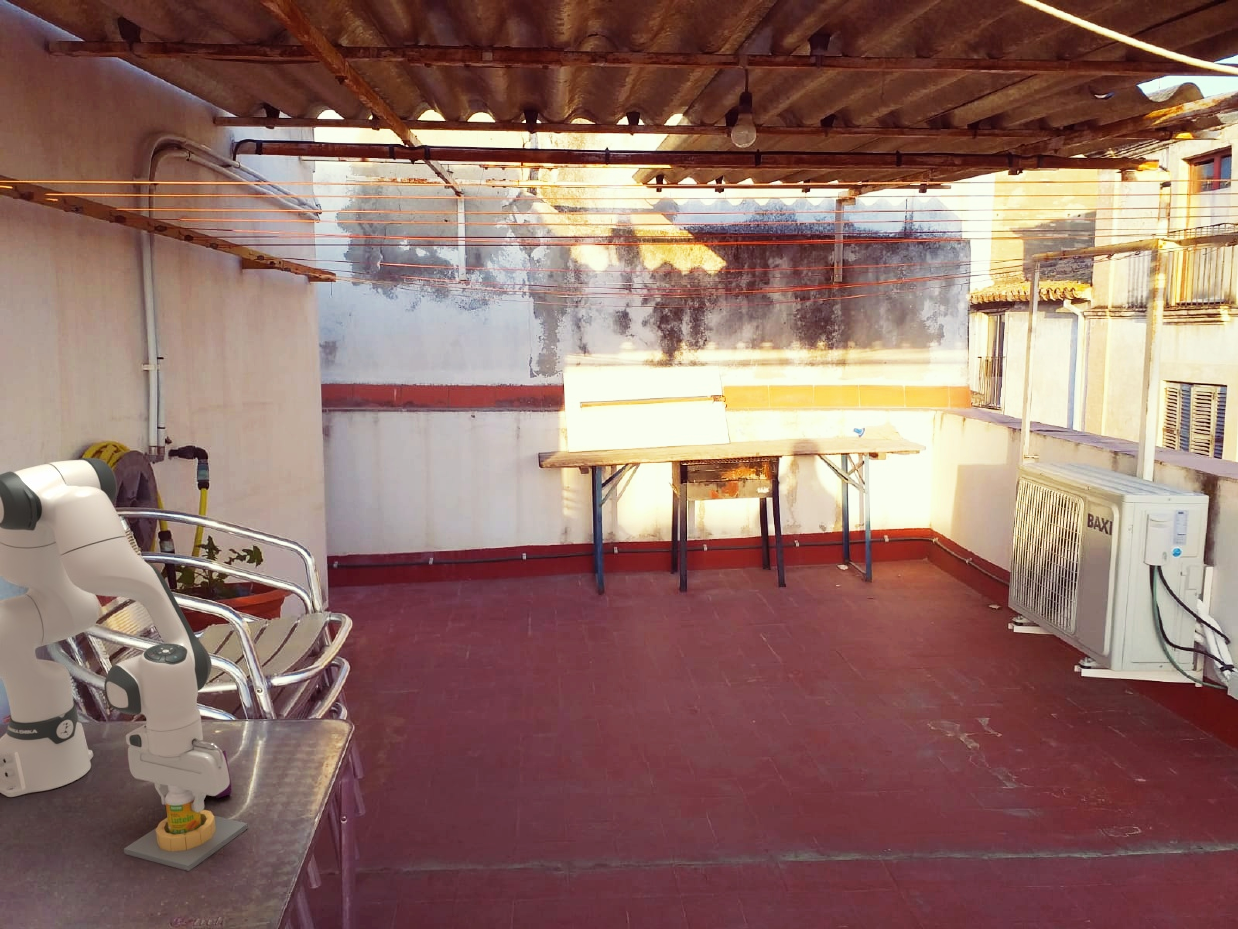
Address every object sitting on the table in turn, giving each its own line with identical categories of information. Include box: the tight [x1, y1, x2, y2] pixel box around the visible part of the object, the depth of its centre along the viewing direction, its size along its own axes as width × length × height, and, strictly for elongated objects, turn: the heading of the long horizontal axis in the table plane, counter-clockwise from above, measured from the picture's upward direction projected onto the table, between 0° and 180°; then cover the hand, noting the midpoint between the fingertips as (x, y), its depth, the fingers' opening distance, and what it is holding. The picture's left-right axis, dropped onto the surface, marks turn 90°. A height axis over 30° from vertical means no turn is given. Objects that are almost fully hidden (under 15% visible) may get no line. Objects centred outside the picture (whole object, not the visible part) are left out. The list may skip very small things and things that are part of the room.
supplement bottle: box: [165, 784, 201, 834], centre depth 172 cm, size 5×5×10 cm
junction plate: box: [123, 809, 249, 872], centre depth 173 cm, size 15×14×4 cm
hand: (183, 807), depth 173 cm, fingers closed on supplement bottle, 5 cm apart
